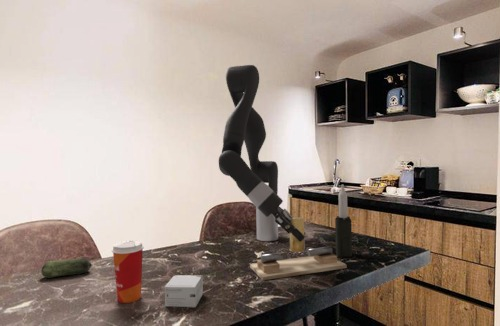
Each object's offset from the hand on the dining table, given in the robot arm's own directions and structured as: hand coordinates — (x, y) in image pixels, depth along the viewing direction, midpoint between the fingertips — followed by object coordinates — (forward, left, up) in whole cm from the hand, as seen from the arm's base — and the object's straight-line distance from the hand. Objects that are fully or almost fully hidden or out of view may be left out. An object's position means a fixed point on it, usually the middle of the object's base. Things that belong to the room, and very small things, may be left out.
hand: (302, 237), depth 103 cm
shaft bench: (-1, -2, -10) cm, 10 cm away
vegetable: (-21, -71, -10) cm, 74 cm away
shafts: (-1, -2, -7) cm, 7 cm away
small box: (+10, -38, -10) cm, 41 cm away
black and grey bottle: (-7, +19, -10) cm, 23 cm away
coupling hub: (-1, -2, -4) cm, 5 cm away
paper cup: (+4, -52, -10) cm, 53 cm away
